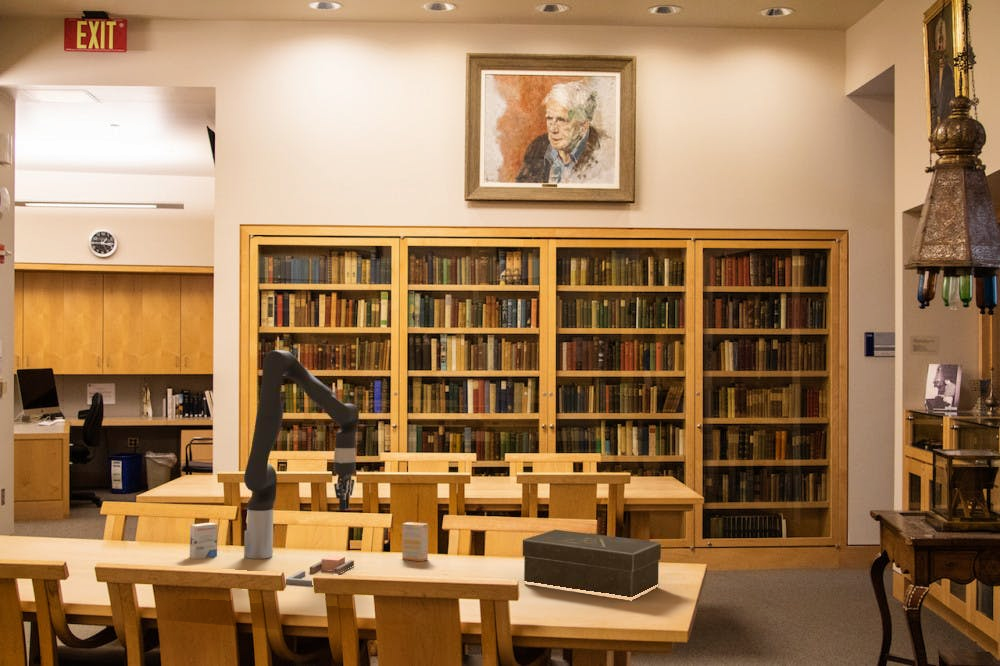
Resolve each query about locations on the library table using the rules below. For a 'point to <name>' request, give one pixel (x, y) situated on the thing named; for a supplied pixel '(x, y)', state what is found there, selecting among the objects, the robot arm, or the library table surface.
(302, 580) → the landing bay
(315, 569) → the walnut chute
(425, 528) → the supplement box
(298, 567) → the library table surface
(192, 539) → the ink box
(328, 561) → the terracotta block
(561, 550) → the box
